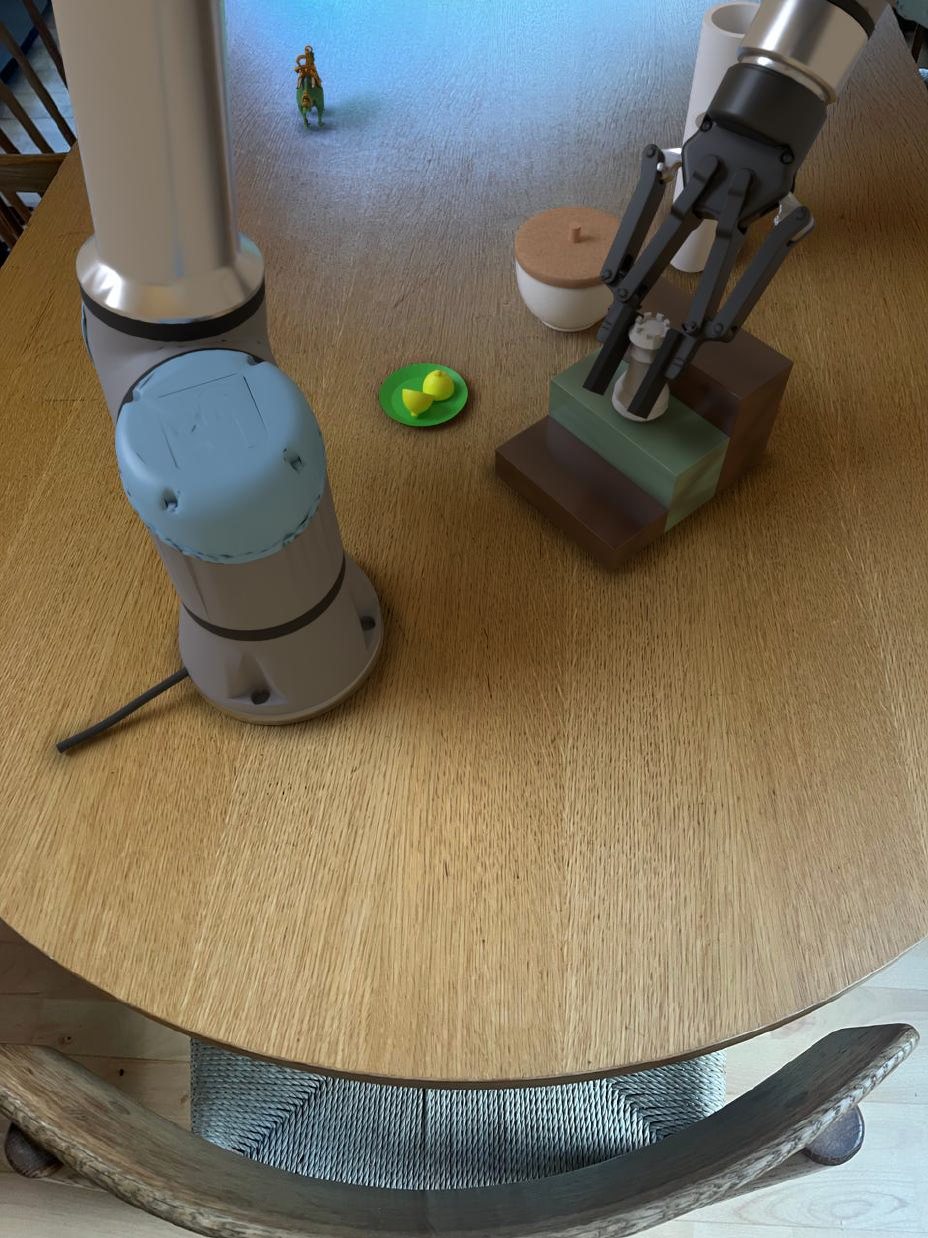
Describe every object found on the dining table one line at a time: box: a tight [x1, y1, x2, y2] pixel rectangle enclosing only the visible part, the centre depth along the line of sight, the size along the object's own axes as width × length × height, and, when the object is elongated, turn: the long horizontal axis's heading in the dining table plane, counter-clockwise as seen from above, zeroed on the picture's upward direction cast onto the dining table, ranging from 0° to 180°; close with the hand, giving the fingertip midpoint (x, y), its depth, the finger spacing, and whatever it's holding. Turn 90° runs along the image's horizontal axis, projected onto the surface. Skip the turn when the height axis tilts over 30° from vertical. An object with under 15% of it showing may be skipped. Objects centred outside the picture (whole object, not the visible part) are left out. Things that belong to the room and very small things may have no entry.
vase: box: [669, 0, 761, 273], centre depth 92 cm, size 11×7×20 cm, turn 172°
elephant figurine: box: [294, 44, 326, 130], centre depth 110 cm, size 3×12×8 cm, turn 2°
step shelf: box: [494, 274, 795, 574], centre depth 79 cm, size 18×14×11 cm
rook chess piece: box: [612, 312, 670, 422], centre depth 74 cm, size 4×4×8 cm
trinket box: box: [514, 206, 622, 333], centre depth 91 cm, size 11×11×9 cm
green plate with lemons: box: [378, 362, 468, 427], centre depth 88 cm, size 8×8×3 cm
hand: (614, 402), depth 73 cm, fingers closed on rook chess piece, 3 cm apart
